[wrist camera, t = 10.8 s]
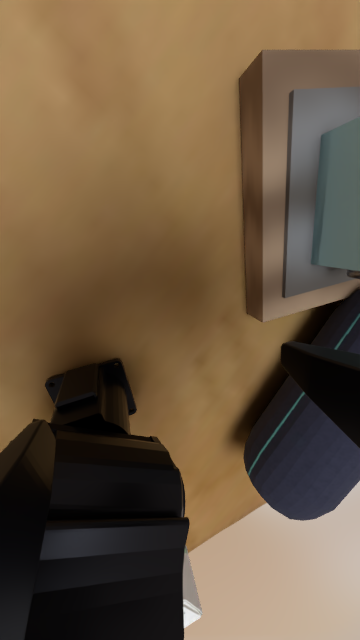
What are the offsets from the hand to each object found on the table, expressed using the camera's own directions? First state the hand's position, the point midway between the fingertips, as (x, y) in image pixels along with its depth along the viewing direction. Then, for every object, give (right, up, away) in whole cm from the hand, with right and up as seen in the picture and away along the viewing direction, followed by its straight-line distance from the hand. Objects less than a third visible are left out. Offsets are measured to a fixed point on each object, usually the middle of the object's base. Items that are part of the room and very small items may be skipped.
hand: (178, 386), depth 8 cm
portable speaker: (+15, -4, +19) cm, 25 cm away
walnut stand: (+13, +13, +12) cm, 22 cm away
